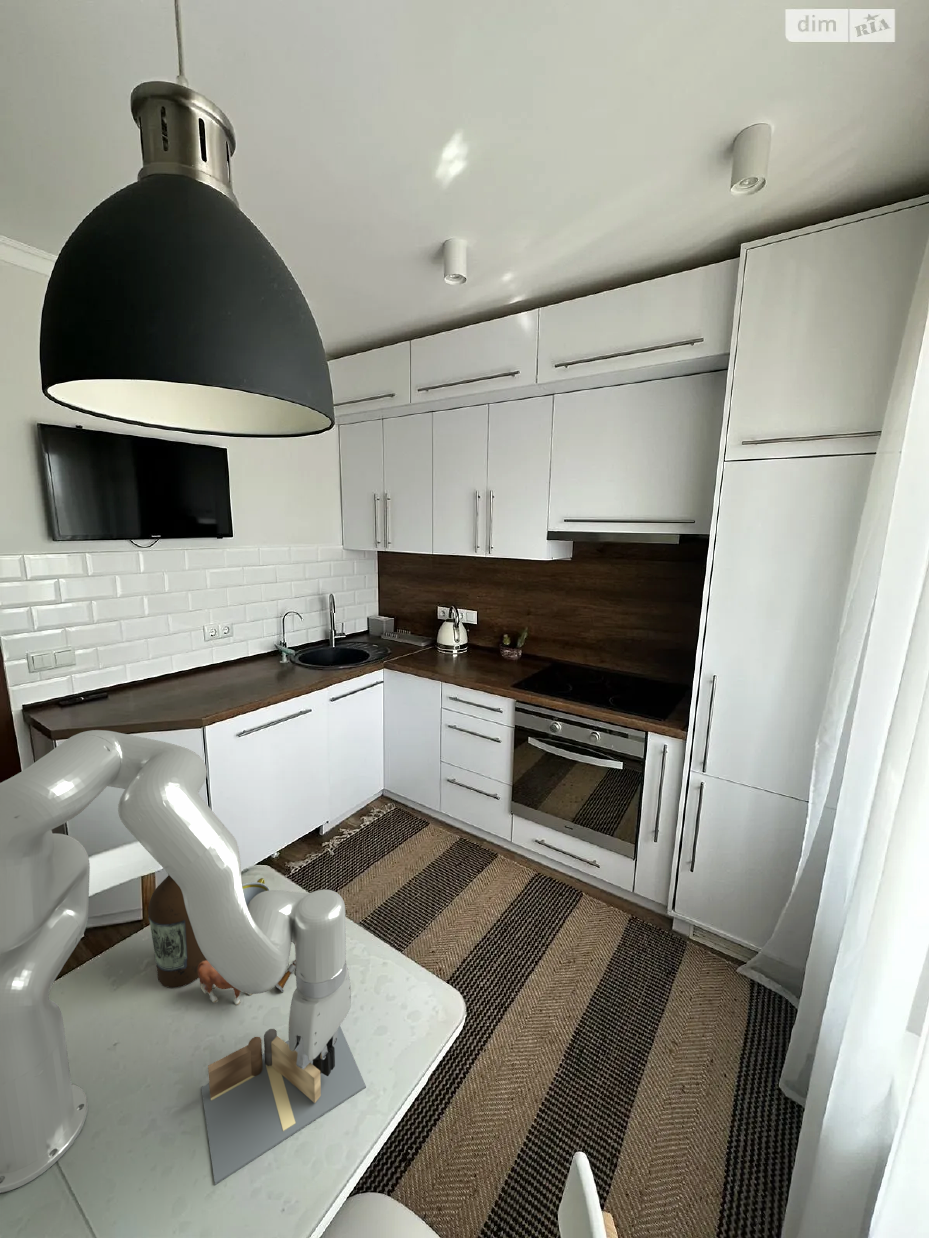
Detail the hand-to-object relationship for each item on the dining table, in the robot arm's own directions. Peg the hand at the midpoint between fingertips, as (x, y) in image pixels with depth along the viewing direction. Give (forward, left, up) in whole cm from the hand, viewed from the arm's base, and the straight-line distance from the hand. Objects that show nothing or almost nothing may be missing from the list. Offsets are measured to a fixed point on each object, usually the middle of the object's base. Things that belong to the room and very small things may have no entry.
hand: (324, 1067), depth 80 cm
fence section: (-12, +7, -2) cm, 14 cm away
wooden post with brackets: (+1, +22, -3) cm, 22 cm away
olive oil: (-17, +35, -3) cm, 39 cm away
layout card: (-6, +2, -2) cm, 7 cm away
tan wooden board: (-4, +3, -2) cm, 6 cm away
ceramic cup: (-4, +37, -3) cm, 37 cm away
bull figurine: (-10, +23, -3) cm, 25 cm away
